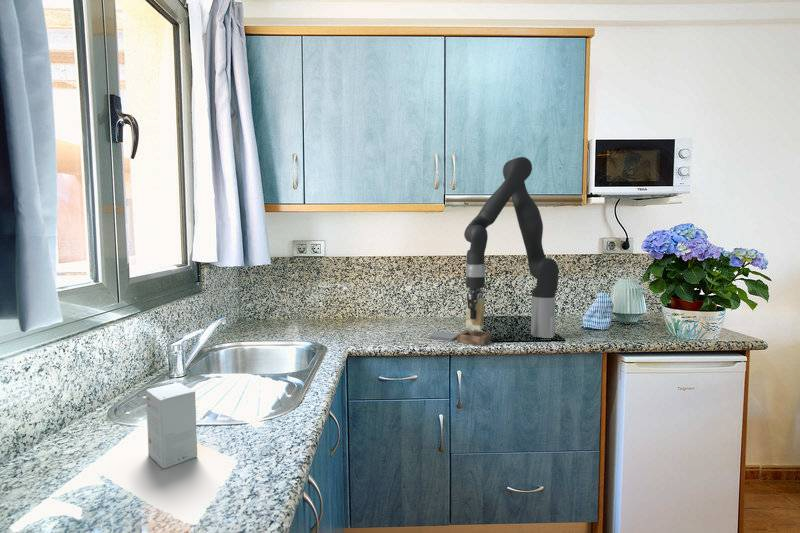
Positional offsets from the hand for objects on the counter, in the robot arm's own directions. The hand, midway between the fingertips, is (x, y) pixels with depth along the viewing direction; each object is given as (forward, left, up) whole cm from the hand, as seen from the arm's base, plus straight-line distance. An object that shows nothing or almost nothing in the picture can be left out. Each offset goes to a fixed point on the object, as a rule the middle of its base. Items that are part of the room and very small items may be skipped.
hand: (475, 317), depth 174 cm
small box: (+23, +115, -10) cm, 118 cm away
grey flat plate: (+13, -1, -10) cm, 16 cm away
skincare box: (0, 0, -4) cm, 4 cm away
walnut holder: (0, 0, -10) cm, 10 cm away
